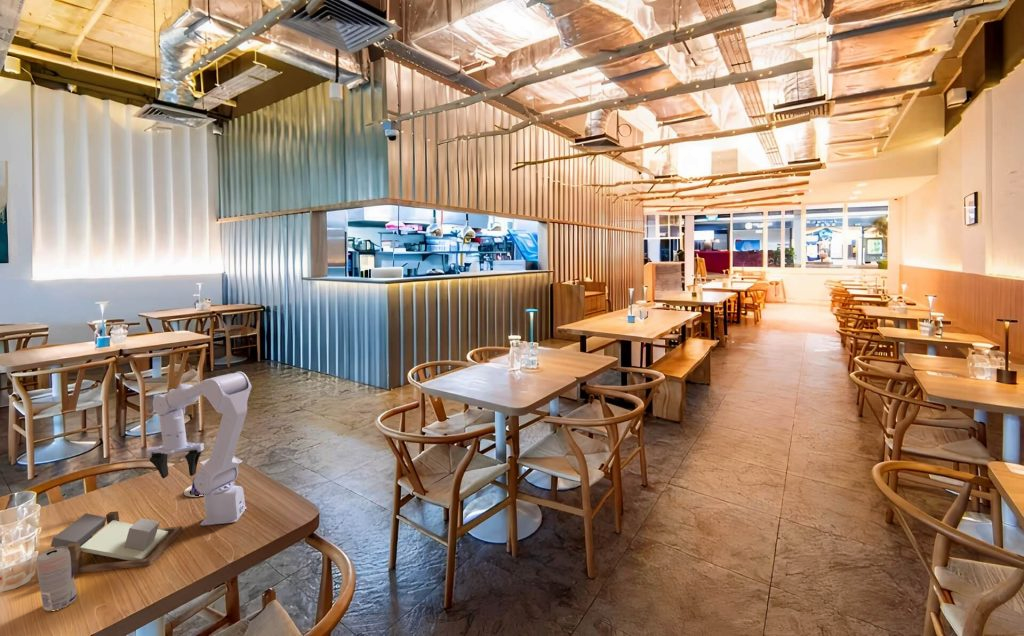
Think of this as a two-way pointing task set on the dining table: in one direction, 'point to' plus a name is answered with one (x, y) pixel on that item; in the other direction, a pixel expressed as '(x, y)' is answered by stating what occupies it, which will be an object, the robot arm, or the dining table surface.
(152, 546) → the flap
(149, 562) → the frame
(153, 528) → the stone
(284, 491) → the dining table surface
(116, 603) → the dining table surface
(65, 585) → the energy drink
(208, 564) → the dining table surface
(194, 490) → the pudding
